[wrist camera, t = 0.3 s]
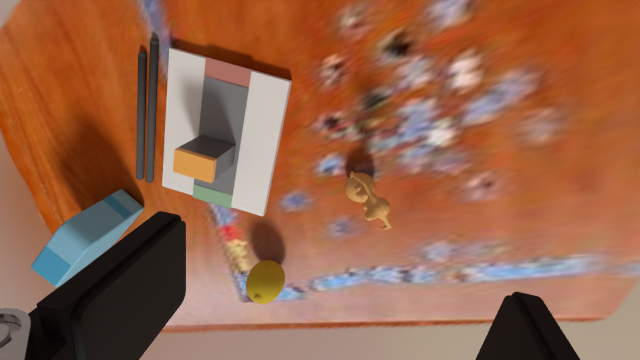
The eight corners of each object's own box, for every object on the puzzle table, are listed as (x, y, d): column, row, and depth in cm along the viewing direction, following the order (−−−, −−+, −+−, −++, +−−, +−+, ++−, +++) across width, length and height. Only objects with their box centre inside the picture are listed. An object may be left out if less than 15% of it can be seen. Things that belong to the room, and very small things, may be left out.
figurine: (333, 162, 47) (319, 200, 36) (373, 142, 45) (370, 176, 34) (362, 211, 49) (356, 261, 38) (401, 194, 47) (407, 241, 36)
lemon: (280, 284, 57) (266, 320, 49) (251, 267, 56) (232, 302, 49) (296, 261, 54) (282, 296, 47) (265, 244, 54) (247, 276, 47)
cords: (141, 34, 44) (136, 34, 44) (160, 40, 44) (155, 40, 43) (138, 177, 53) (134, 179, 52) (154, 182, 53) (150, 184, 52)
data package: (125, 185, 54) (61, 222, 43) (148, 204, 55) (90, 246, 44) (92, 227, 59) (26, 271, 48) (113, 245, 60) (53, 291, 49)
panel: (174, 46, 44) (168, 46, 43) (292, 79, 43) (289, 80, 42) (166, 184, 53) (161, 187, 51) (265, 213, 52) (262, 218, 51)
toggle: (201, 134, 47) (174, 149, 41) (236, 144, 47) (213, 161, 40) (199, 154, 48) (172, 171, 42) (233, 164, 48) (211, 183, 42)
